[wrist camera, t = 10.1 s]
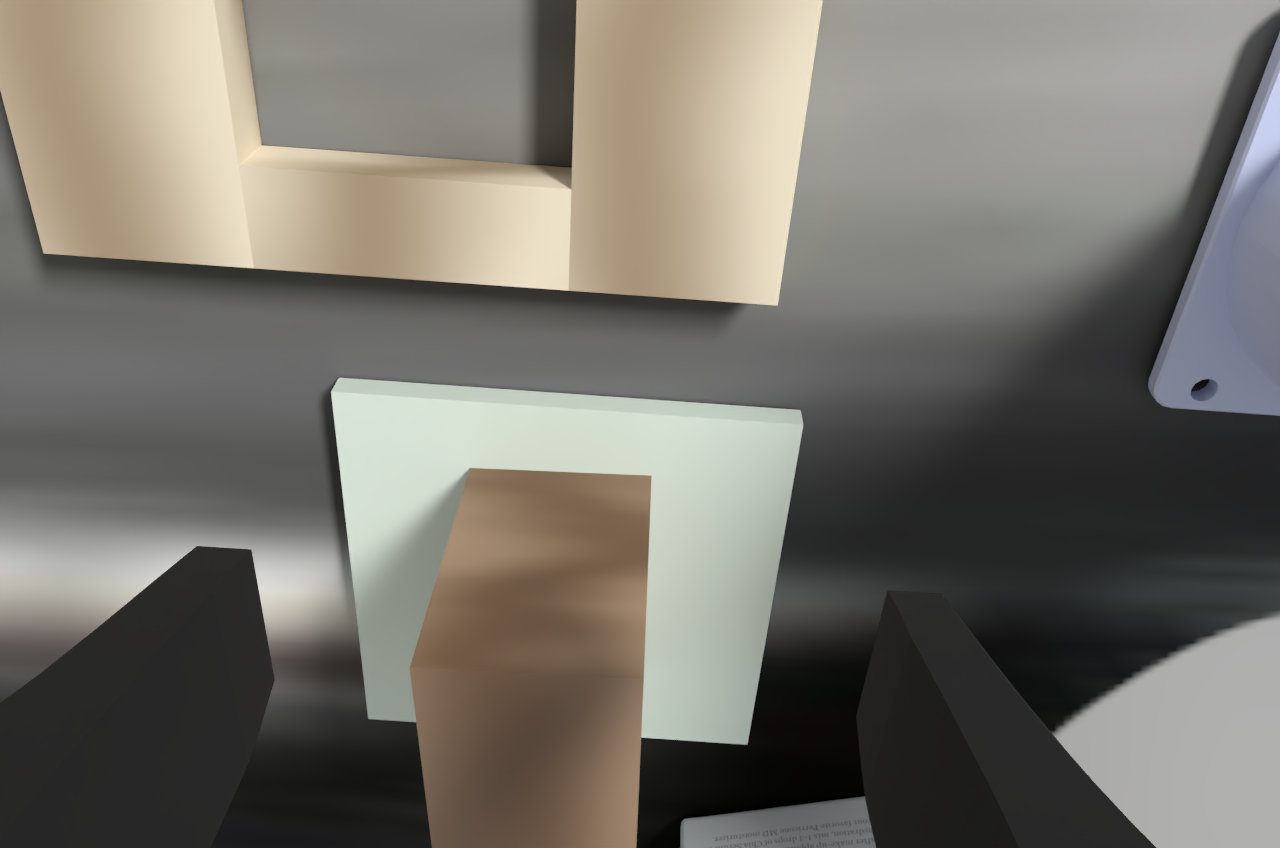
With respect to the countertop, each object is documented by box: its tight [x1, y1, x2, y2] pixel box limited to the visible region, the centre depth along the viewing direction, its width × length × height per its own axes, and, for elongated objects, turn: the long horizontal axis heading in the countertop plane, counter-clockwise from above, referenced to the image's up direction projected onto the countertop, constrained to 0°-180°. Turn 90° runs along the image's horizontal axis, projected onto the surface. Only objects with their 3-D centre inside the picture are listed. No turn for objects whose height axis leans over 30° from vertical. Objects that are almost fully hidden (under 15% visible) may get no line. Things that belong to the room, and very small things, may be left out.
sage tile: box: [331, 378, 803, 745], centre depth 25 cm, size 10×10×1 cm
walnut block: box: [410, 468, 652, 848], centre depth 22 cm, size 4×6×6 cm, turn 178°
